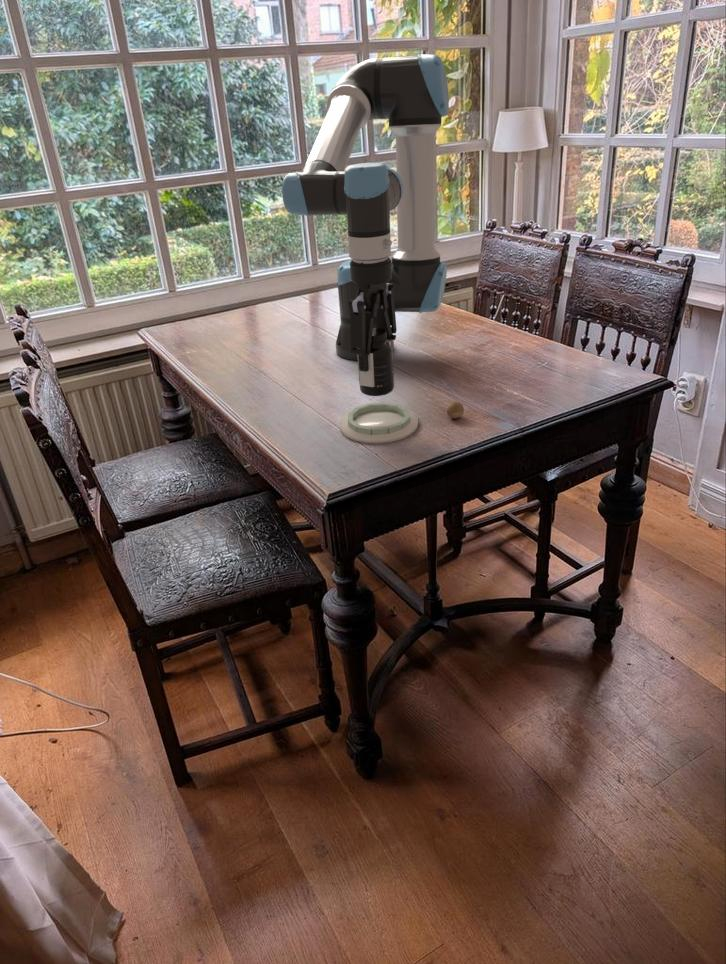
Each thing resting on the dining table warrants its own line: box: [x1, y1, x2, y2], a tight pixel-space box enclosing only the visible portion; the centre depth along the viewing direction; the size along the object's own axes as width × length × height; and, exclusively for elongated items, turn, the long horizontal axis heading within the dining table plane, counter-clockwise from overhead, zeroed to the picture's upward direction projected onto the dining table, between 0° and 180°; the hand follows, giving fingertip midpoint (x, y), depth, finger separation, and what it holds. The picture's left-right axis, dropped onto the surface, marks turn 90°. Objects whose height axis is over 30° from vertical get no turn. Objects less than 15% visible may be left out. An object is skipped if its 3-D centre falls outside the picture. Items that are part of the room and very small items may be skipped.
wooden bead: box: [446, 401, 465, 420], centre depth 139 cm, size 4×4×4 cm
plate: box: [339, 402, 419, 444], centre depth 138 cm, size 16×16×2 cm
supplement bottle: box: [357, 328, 395, 397], centre depth 132 cm, size 7×7×12 cm
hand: (376, 378), depth 134 cm, fingers closed on supplement bottle, 7 cm apart
